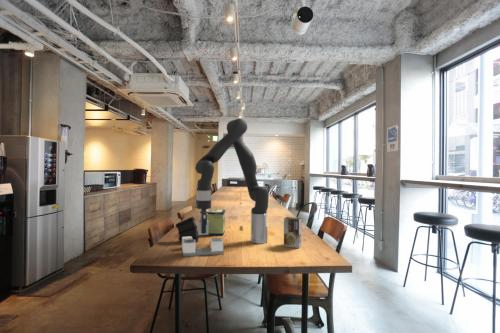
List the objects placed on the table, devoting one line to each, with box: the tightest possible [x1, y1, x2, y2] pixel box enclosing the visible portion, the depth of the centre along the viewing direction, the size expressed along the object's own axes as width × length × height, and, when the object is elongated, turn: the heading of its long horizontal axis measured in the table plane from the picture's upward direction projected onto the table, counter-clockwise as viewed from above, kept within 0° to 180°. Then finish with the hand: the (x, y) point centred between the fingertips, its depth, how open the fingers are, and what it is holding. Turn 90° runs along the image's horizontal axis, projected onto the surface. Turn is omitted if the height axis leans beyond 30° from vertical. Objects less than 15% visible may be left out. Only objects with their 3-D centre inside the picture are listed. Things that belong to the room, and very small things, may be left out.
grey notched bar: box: [182, 237, 224, 258], centre depth 135 cm, size 20×7×7 cm, turn 104°
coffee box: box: [283, 216, 302, 249], centre depth 150 cm, size 9×6×16 cm
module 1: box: [181, 236, 193, 250], centre depth 143 cm, size 5×4×6 cm
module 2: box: [197, 219, 209, 236], centre depth 135 cm, size 5×4×7 cm
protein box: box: [206, 209, 226, 237], centre depth 176 cm, size 10×16×16 cm
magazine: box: [175, 216, 200, 244], centre depth 155 cm, size 4×13×15 cm, turn 81°
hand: (203, 231), depth 135 cm, fingers closed on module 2, 4 cm apart
